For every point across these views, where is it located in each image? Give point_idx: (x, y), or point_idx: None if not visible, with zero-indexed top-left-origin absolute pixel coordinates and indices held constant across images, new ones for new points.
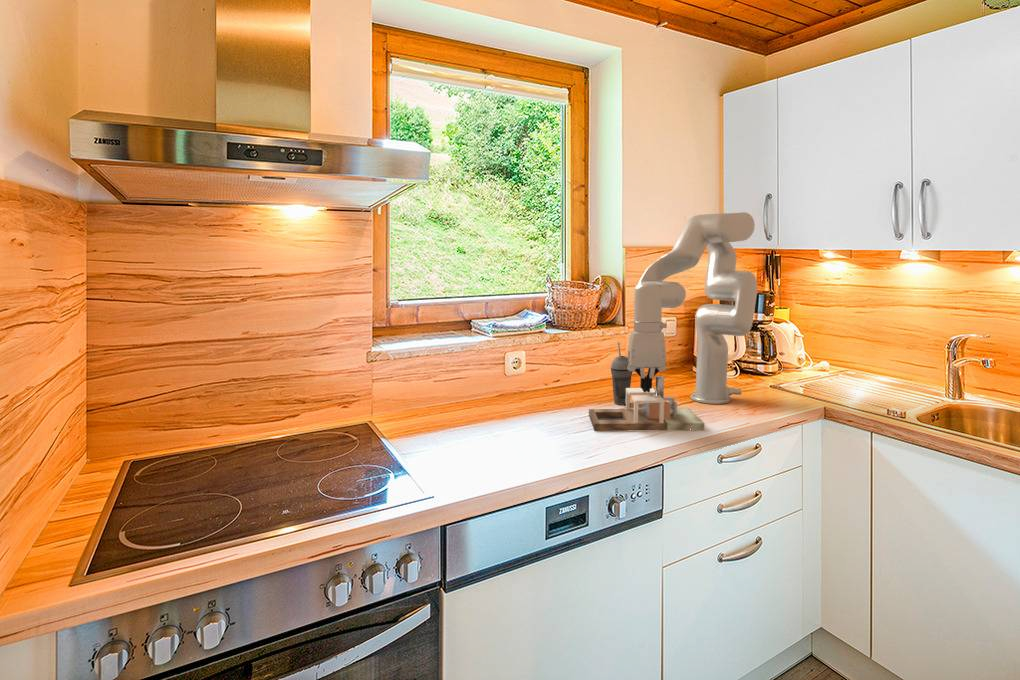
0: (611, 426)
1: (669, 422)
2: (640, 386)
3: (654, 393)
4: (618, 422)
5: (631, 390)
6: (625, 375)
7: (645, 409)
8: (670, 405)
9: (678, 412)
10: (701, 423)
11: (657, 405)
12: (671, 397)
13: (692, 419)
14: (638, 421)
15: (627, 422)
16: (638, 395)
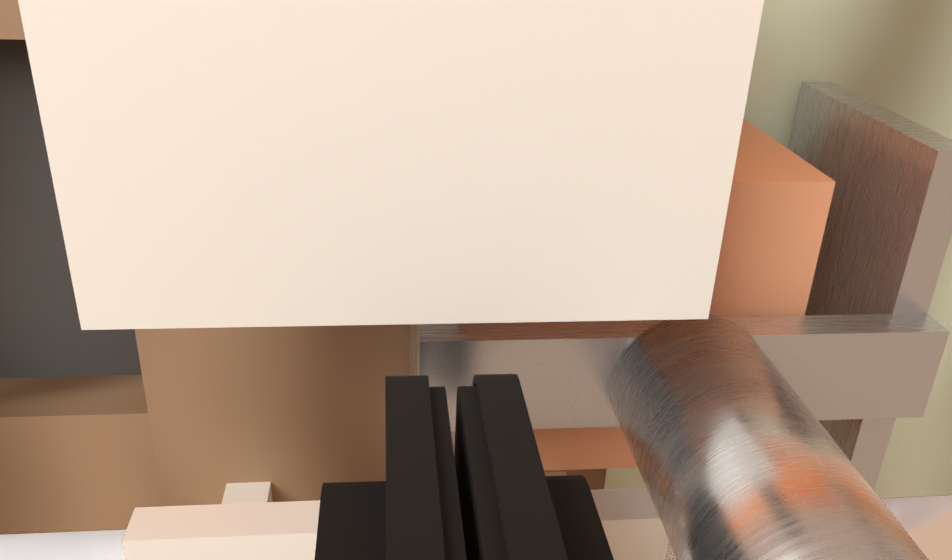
0: None
1: (636, 479)
2: (322, 500)
3: (650, 306)
4: (38, 495)
5: (149, 143)
6: None
7: (412, 346)
8: (834, 248)
9: (932, 92)
10: (947, 494)
11: (579, 461)
12: (898, 374)
13: (935, 379)
14: (289, 458)
15: (151, 495)
16: (270, 532)
